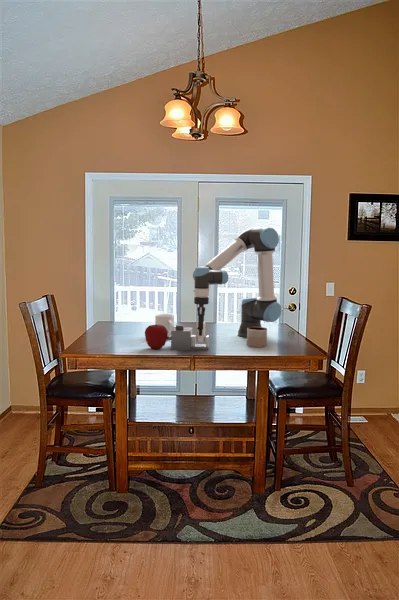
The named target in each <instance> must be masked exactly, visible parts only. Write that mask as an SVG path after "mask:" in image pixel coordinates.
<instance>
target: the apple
mask: <svg viewBox="0 0 399 600" xmlns="http://www.w3.org/2000/svg"><path fill="white" fill-rule="evenodd" d="M144 330H145V331H144V336H145V337H144V338H145V341H146V344H147V346H148V347H149V348H150V349H152V350H158V349H159V350H160V349H162V348H163V347H164V346H165V345H166V342H167V341H168V340H167V335H168V331H167V329H166V328H165V327H164V326H163V325H155V324H151V325H148V326H147V327H145V329H144Z"/></svg>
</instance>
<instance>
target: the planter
mask: <svg viewBox="0 0 399 600" xmlns="http://www.w3.org/2000/svg"><path fill="white" fill-rule="evenodd" d="M246 345H247V346H248V347H251V348H265V347H266V346H267V345H268V328H266V327H263V326H261V327H248V328H247V337H246Z"/></svg>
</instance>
